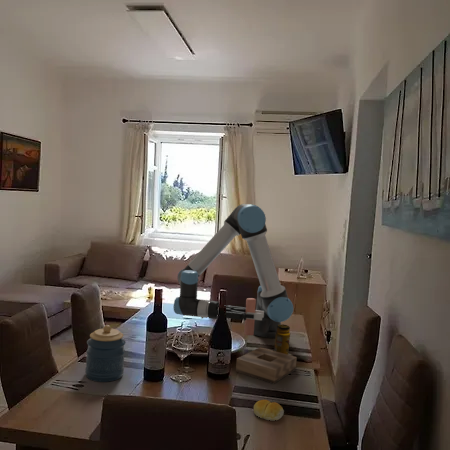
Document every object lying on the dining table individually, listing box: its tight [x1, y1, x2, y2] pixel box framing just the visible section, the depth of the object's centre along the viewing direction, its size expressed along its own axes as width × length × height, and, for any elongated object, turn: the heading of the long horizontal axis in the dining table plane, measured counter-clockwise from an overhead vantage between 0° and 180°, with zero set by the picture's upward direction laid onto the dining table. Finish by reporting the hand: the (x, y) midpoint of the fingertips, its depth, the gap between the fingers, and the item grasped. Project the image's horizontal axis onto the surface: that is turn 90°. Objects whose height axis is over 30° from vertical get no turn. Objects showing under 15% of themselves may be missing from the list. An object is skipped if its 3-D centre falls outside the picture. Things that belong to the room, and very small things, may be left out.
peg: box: [243, 297, 257, 336], centre depth 199 cm, size 4×4×15 cm
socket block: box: [235, 346, 298, 384], centre depth 178 cm, size 18×16×5 cm
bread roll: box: [253, 399, 285, 422], centre depth 143 cm, size 8×9×4 cm
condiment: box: [273, 324, 293, 356], centre depth 198 cm, size 7×8×12 cm
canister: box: [84, 324, 127, 383], centre depth 163 cm, size 13×13×18 cm
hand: (262, 315), depth 198 cm, fingers closed on peg, 4 cm apart
